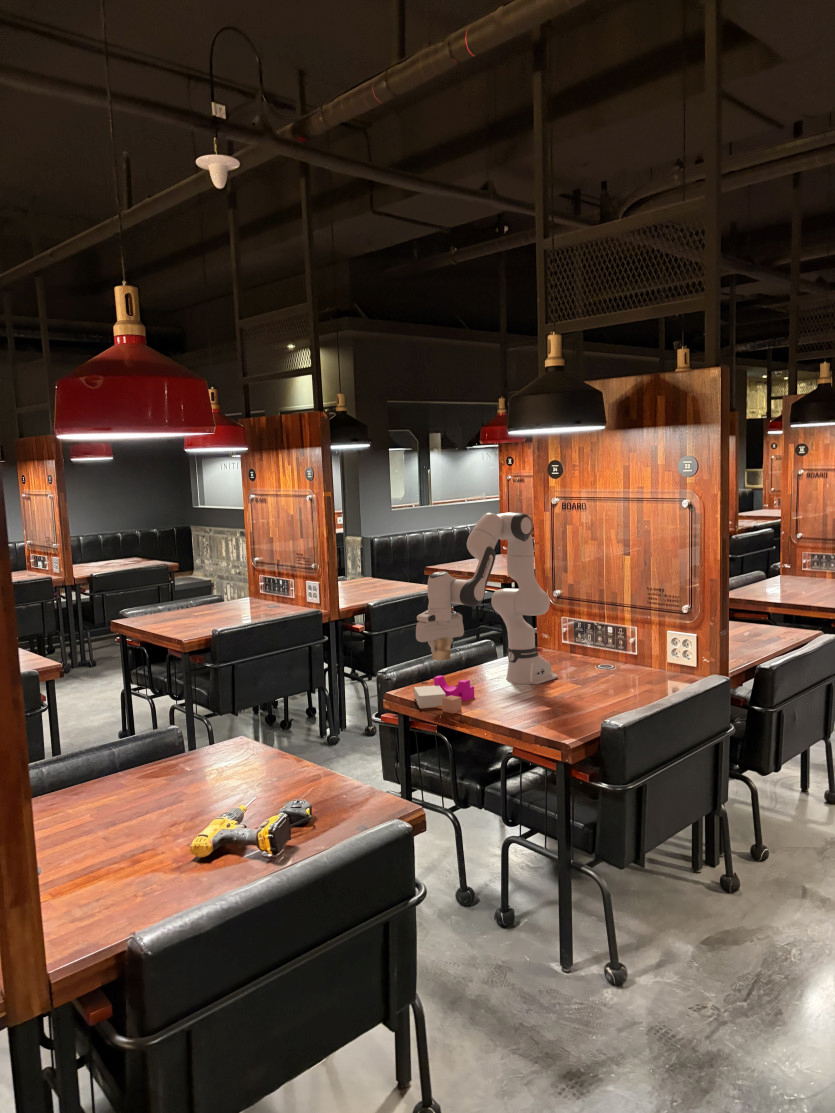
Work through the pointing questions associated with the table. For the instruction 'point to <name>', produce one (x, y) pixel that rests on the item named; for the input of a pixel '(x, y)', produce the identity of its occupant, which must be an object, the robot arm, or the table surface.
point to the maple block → (441, 649)
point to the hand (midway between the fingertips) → (440, 650)
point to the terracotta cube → (451, 704)
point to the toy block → (456, 688)
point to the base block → (429, 696)
